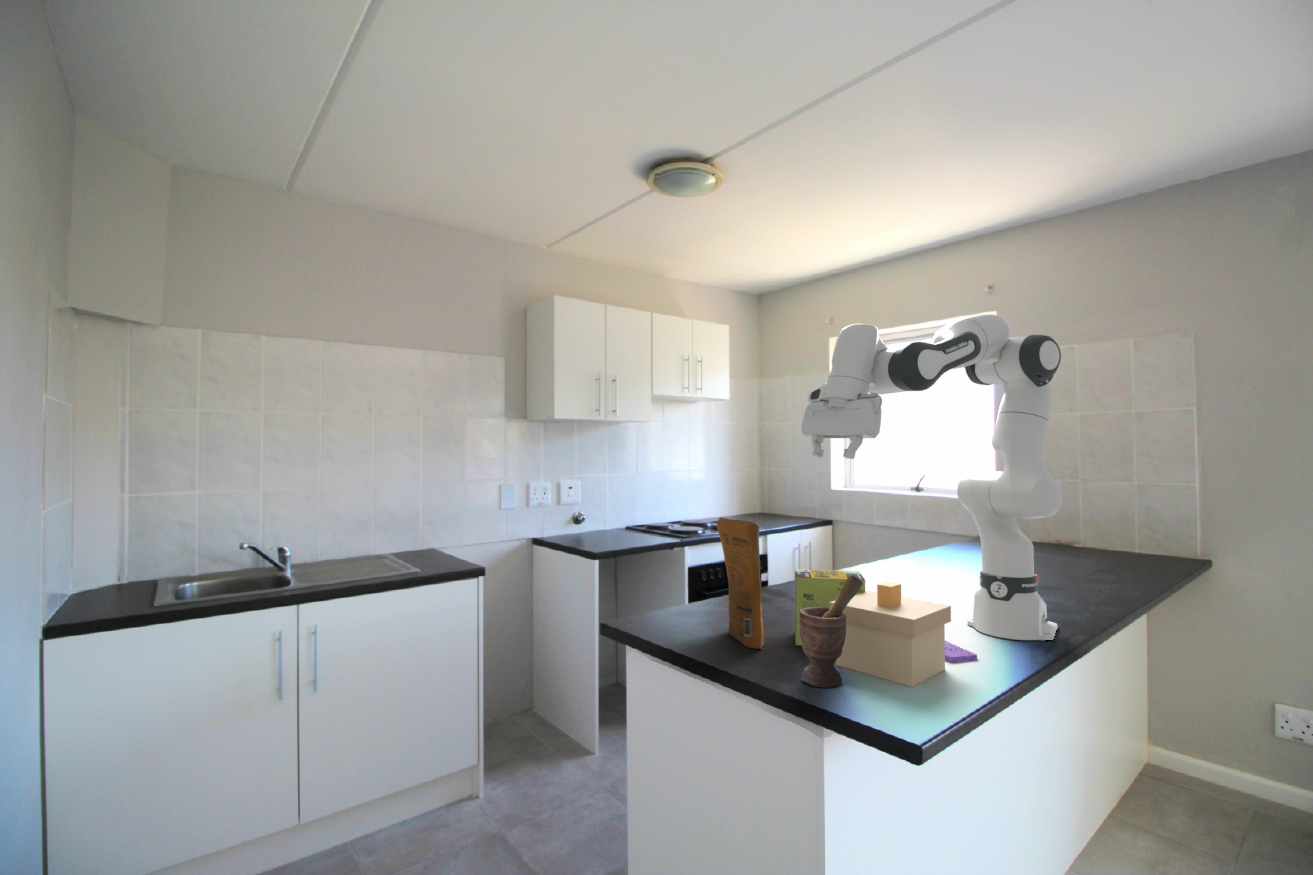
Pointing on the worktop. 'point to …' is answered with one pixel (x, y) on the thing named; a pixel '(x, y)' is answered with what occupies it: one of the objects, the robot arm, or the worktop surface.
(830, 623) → the mortar and pestle
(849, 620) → the carton lid
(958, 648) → the sponges
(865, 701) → the worktop surface
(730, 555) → the pancake mix bag
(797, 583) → the protein box
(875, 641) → the carton
